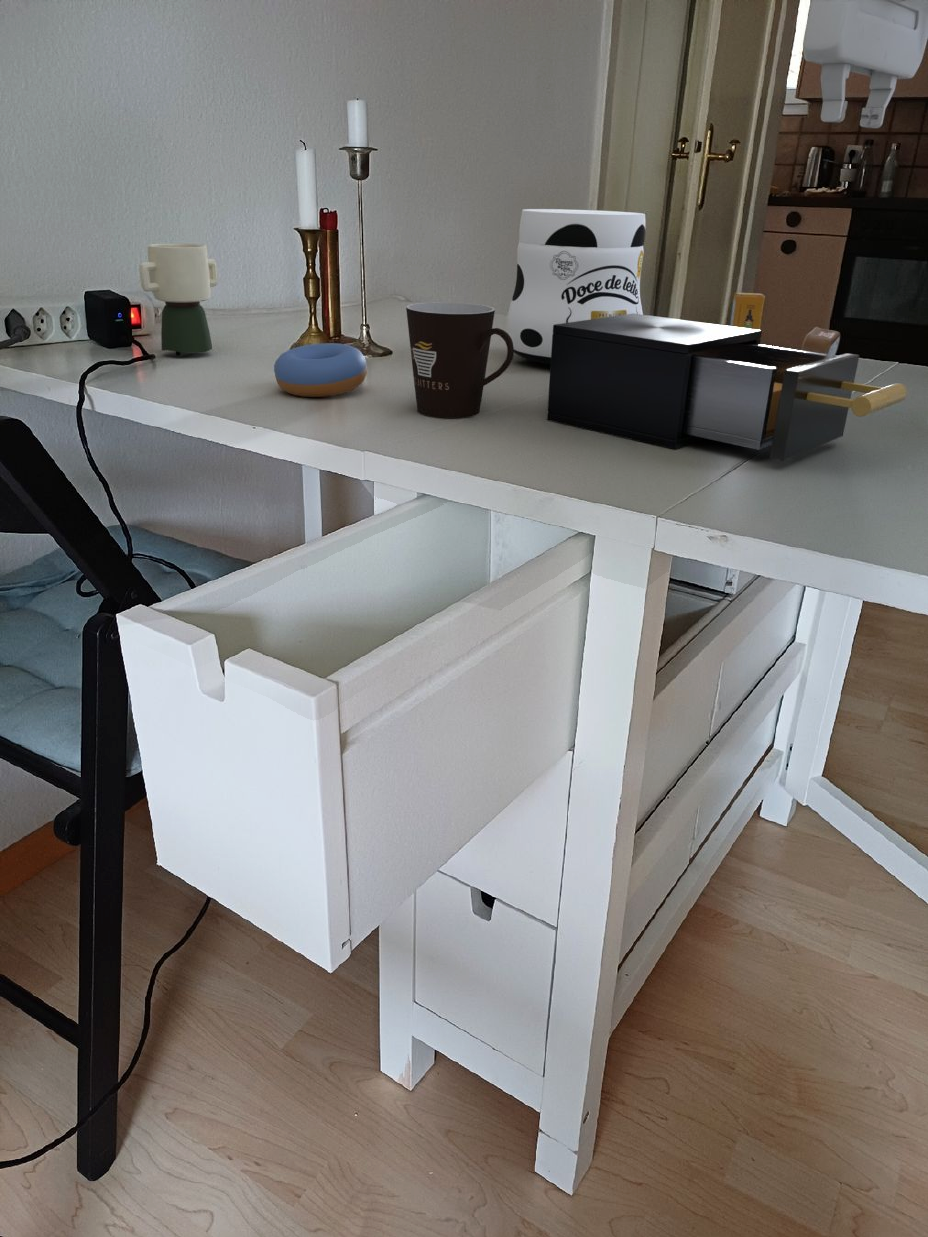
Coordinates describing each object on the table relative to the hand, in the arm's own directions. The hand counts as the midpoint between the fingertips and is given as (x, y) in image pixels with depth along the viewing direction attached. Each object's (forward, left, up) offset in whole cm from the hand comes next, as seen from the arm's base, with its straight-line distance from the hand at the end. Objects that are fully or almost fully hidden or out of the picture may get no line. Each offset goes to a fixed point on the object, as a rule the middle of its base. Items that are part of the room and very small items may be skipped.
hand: (851, 125), depth 91 cm
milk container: (+31, +1, -27) cm, 41 cm away
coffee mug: (+21, +34, -27) cm, 48 cm away
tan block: (-5, +22, -25) cm, 34 cm away
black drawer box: (+6, +22, -27) cm, 35 cm away
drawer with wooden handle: (-7, +22, -26) cm, 35 cm away
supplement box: (+11, -6, -27) cm, 30 cm away
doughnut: (+38, +37, -27) cm, 60 cm away
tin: (-3, +6, -27) cm, 28 cm away
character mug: (+66, +36, -27) cm, 80 cm away
